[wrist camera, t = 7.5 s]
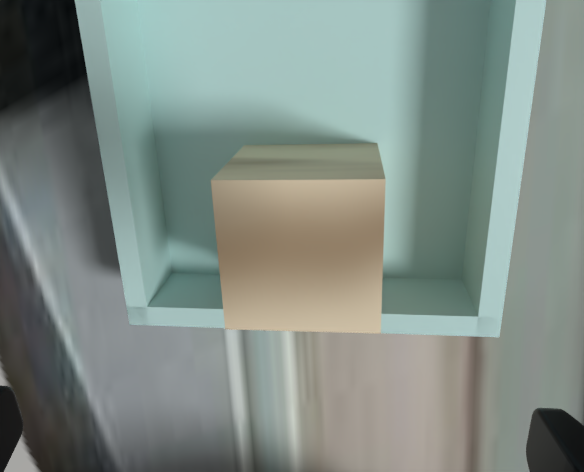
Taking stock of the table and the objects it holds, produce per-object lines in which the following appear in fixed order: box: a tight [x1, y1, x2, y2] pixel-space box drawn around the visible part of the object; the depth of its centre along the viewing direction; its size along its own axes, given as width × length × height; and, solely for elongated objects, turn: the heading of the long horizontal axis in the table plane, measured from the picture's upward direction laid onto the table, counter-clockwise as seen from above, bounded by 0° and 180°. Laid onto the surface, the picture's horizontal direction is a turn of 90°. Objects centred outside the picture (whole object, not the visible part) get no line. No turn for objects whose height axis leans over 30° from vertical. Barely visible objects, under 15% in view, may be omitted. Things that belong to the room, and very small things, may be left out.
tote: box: [75, 0, 546, 337], centre depth 18 cm, size 16×14×4 cm
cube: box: [211, 143, 386, 334], centre depth 18 cm, size 5×5×5 cm
